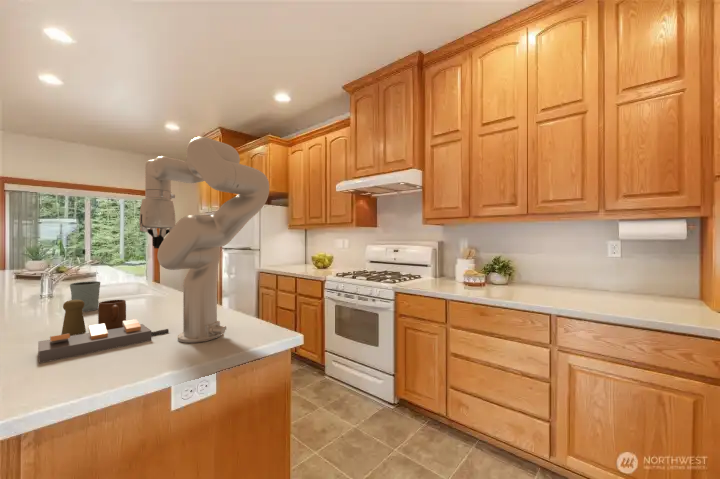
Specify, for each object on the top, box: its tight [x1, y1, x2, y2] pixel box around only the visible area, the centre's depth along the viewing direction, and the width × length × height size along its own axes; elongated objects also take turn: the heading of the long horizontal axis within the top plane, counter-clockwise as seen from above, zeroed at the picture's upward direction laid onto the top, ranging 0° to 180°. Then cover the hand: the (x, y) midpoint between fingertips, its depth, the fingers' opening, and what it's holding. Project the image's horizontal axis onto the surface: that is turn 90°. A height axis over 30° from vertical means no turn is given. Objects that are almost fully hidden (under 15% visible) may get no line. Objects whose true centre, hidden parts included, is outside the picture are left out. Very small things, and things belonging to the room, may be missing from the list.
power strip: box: [37, 323, 169, 364], centre depth 92 cm, size 30×11×3 cm, turn 137°
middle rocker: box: [88, 323, 108, 339], centre depth 90 cm, size 4×6×2 cm, turn 47°
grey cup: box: [69, 280, 101, 313], centre depth 136 cm, size 10×10×12 cm
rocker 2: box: [122, 318, 141, 333], centre depth 96 cm, size 4×6×2 cm, turn 47°
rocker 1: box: [49, 334, 70, 343], centre depth 84 cm, size 4×6×2 cm, turn 47°
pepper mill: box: [60, 299, 87, 336], centre depth 103 cm, size 6×6×11 cm
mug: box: [97, 299, 127, 330], centre depth 107 cm, size 12×8×9 cm, turn 46°
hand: (158, 248), depth 109 cm, fingers closed
